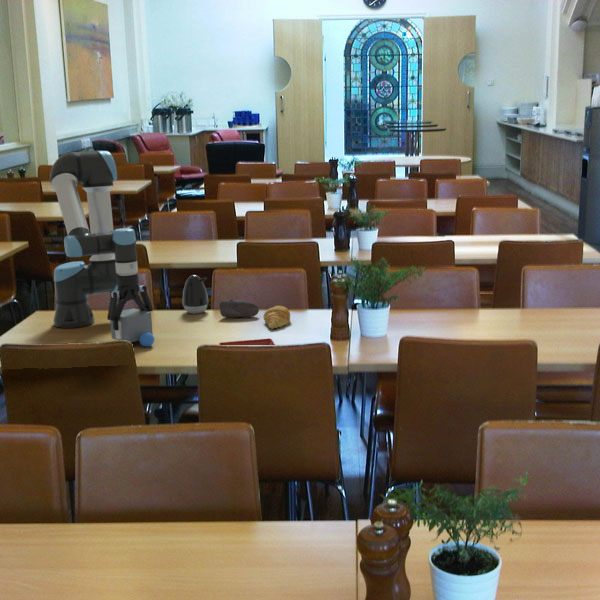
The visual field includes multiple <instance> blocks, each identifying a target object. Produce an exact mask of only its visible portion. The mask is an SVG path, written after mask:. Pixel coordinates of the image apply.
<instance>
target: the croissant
mask: <svg viewBox="0 0 600 600" xmlns="http://www.w3.org/2000/svg"><path fill="white" fill-rule="evenodd" d="M263 321H264V323H265V324H266V325H267V327H268V328H269V329H270V328H271V330H273V329H274V328H276V329H279V328H278V327H280V328H282V327H281V326H283V327H285V326H284V325H286V324H288V325H289V324H290V322H291V313H290V310H289V309H288V308H287V307H286V306H283V305H274V306H272V307H269V308H267V310H266V311H265V312H264V313H263ZM286 326H287V325H286ZM274 330H275V329H274Z"/></svg>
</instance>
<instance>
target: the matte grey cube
mask: <svg viewBox="0 0 600 600" xmlns="http://www.w3.org/2000/svg"><path fill="white" fill-rule="evenodd" d="M109 321H110V322H109V324H110V333H111V339H112V340H117V341H120V339H116V333H115V330H114V329H113V321H111V320H109ZM119 321H121V329H122V339H121V340H127V341H130V342H131V343H134V342H138V341H139V338H140V336H141V334H143V333H145V332H149V333H151V334H152V335H153V336H154V333H153V323H152V322H153V319H152V311H150V312H147V311H143V310H140V309H139V308H138V309H137V308H129V309H125V310H124V309H123V310H122V313H121V315H120V318H119Z"/></svg>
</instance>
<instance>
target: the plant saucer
mask: <svg viewBox="0 0 600 600" xmlns="http://www.w3.org/2000/svg"><path fill="white" fill-rule="evenodd" d="M218 345H219V346H220V345H276V343H275V342H274V341H273V339H272V338H260V339H258V338H257V339H248V340H247V339H245V340H235V341H223V342H219V343H218Z"/></svg>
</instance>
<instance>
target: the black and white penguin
mask: <svg viewBox="0 0 600 600" xmlns="http://www.w3.org/2000/svg"><path fill="white" fill-rule="evenodd" d="M207 279H208V277H207V276H205V277H204V276H203V277H202V278H201V277H200V276H199V275H197V274H192V275H191V274H190V276H189V277H188V278H187V279H186V281H185V283H184V288H183V291H182V306H183V308H184V310H185V311H186V312H187V313H188V314H191V315H198V314H202V313H204V312H205V311H206V310H207V308H208V304H209V298H208V292H207V288H206V286H205V283H204V282H205V281H206V280H207Z"/></svg>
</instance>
